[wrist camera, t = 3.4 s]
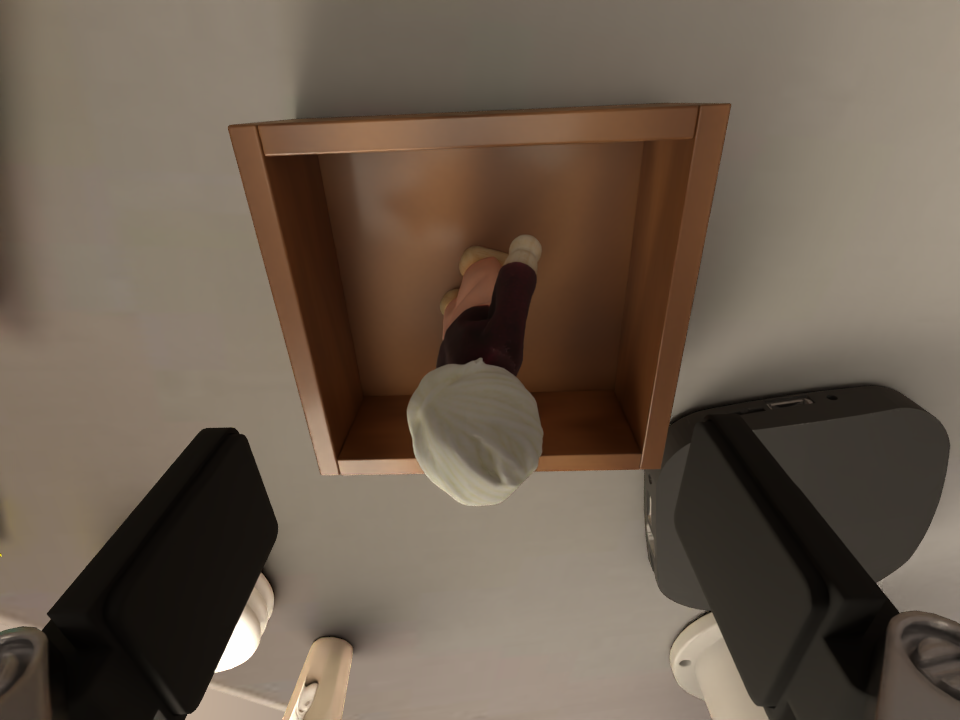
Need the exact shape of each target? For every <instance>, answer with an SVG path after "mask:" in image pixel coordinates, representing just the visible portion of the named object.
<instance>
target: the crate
mask: <svg viewBox="0 0 960 720" xmlns="http://www.w3.org/2000/svg"><path fill="white" fill-rule="evenodd" d="M730 109H731V104H730V103H653V104H630V105H607V106H584V107H561V108H538V109H514V110H491V111H468V112H445V113H422V114H399V115H376V116H353V117H329V118H306V119H290V120H279V121H268V122H257V123H246V124H234V125H229V126H228V130H229V134H230V138H231V142H232V145H233V149H234V153H235V157H236V160H237V164H238V168H239V172H240V175H241V179H242V183H243V186H244V190H245V194H246V198H247V201H248V205H249V209H250V213H251V216H252V220H253V224H254V227H255V231H256V235H257V239H258V242H259V246H260V250H261V254H262V257H263V261H264V265H265V269H266V272H267V276H268V280H269V283H270V287H271V291H272V295H273V298H274V302H275V306H276V310H277V313H278V317H279V321H280V325H281V328H282V332H283V336H284V339H285V343H286V347H287V351H288V354H289V358H290V362H291V366H292V369H293V373H294V377H295V380H296V384H297V388H298V392H299V395H300V399H301V403H302V407H303V410H304V414H305V418H306V422H307V425H308V429H309V433H310V436H311V440H312V444H313V448H314V451H315V455H316V459H317V463H318V466H319V470H320V474H321V475H340V474H341V475H381V474H425V472H424V471H423V470H422V468H421V467H420V465H419V463H418V461H417V459H416V457H415V454H414V450H413V439H412V436H411V433H410V430H409V426H408V420H407V407H408V404H409V401H410V399H411V397H412V395H413V393H414V392H415V390H416V389H417V388H418V386H419V384H420V382H421V380H422V379H423V377H424V376H425V375H426V374H428V373H429V372H431V371H433V370H435V369H436V364H437V358H438V354H439V349H440V346H441V343H442V341H443V339H442V336H443V319H444V315H443V314H442V312H441V310H440V302H441V300H442V298H443V296H444V295H445V294H446V293H447V292H448V291H450V290H453V289H460V286H461V283H462V279H463V276H462V275H461V273H460V270H459V262H460V259H461V257H462V255H463V253H464V251H465V250H466V249H468V248H470V247H472V246H481V247H486V248H489V249H493V250H497V251H501V252H504V253H507V254H509V248H510V245H511V243H512V241H513V240H514V239H515V238H517V237H518V236H520V235H531V236H533V237H535V238H536V239H537V240H538V241H539V243H540V244H541V247H542V253H541V257H540V259H539V261H538V262H537V265H538V268H537V274H536V275H537V283H536V288H535V291H534V293H533V295H532V299H531V303H530V307H529V311H528V316H527V320H526V328H525V336H524V349H523V361H522V365H521V367H520V369H519V372H518V374H517V376H516V377H517V378H518V379H519V380H520V382H521V383H522V384H523V385H524V387H525V388H526V389H527V390H528V391H529V392H530V393H531V395H532V396H533V397H534V398H535V400H536V403H537V408H538V413H539V418H540V423H541V427H542V429H543V432H544V433H543V438H542V440H543V443H542V454H541V456H540V457H539V462H538V467H537V469H536V470H535V471H586V470H637V469H661V464H662V459H663V454H664V449H665V443H666V438H667V433H668V428H669V423H670V418H671V413H672V407H673V402H674V397H675V392H676V387H677V382H678V376H679V371H680V366H681V361H682V356H683V351H684V346H685V340H686V335H687V330H688V325H689V320H690V315H691V309H692V304H693V299H694V294H695V289H696V284H697V279H698V273H699V268H700V263H701V258H702V253H703V248H704V243H705V237H706V232H707V227H708V222H709V217H710V212H711V206H712V201H713V196H714V191H715V186H716V181H717V176H718V170H719V165H720V160H721V155H722V150H723V145H724V140H725V134H726V129H727V124H728V119H729V114H730ZM535 471H534V472H535Z"/></svg>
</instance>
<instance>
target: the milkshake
mask: <svg viewBox="0 0 960 720" xmlns="http://www.w3.org/2000/svg"><path fill="white" fill-rule="evenodd" d="M352 656H353V647H352V646H351V645H350V644H349V643H348V642H347V641H346V640H343V639H339V638H336V637H322V638H320V639H318V640H317V641H315V642H314V643H313V644H312V646H311V648H310V651H309V653H308V656H307V658H306V661H305V663H304V666H303V668H302V671H301V673H300V676H299V679H298V681H297V684H296V686H295V689H294V691H293V694H292V696H291V699H290V701H289V704H288V706H287V709H286V711H285V714H284V717H283V719H282V720H342V714H343V708H344V702H345V697H346V691H347V685H348V679H349V674H350V668H351V662H352Z"/></svg>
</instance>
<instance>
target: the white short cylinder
mask: <svg viewBox="0 0 960 720" xmlns="http://www.w3.org/2000/svg"><path fill="white" fill-rule="evenodd" d="M273 607H274V594H273V590H272V588H271V586H270V584H269V582H268V581H267V579H266V578H265V576H264V575H263V574H262V573H260V575H259V578H258V580H257V582H256V584H255V586H254V588H253V591H252V593H251V595H250V597H249V599H248V601H247V603H246V606H245V608H244V610H243V612H242V614H241V616H240V619H239V621H238V623H237V625H236V627H235V629H234V631H233V634H232V636H231V638H230V640H229V642H228V644H227V646H226V649H225V651H224V653H223V655H222V657H221V659H220V662H219V664H218V666H217V668H216V670H215V672H220V671H224V670H227V669H231V668H233V667H235V666H237V665H239V664H242V663H243V662H245V661H246V660H247V659H249V658H250V657H251V656H252V654H253V653H254V652H255V650H256V649H257V647H258V645H259V642H260V636H261V635H262V634H263V632H264V631H265V629H266V626H267V621H268V619H269V618H270V616H271V614H272V612H273Z"/></svg>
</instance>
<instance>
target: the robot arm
mask: <svg viewBox="0 0 960 720" xmlns="http://www.w3.org/2000/svg"><path fill="white" fill-rule="evenodd" d="M674 525H675V529H676V532H677V534H678V536H679V539H680V541H681V543H682V546H683V548H684V550H685V552H686V555H687V557H688V559H689V561H690V564H691V566H692V568H693V570H694V573H695V575H696V577H697V579H698V582H699V584H700V586H701V588H702V591H703V593H704V595H705V598H706V600H707V602H708V604H709V607H710V609H711V611H712V612H710V613H708V614H706V615H704V616H702V617H701V618H699V619H698V620H696V621H695V622H693V623H692V624H690V625H689V626H688V627H687V628H686V629H685V630H684V631H683V632H681V633H680V635H679V636H678V638H677V639H676V640H675V642H674V643H673V646H672V648H671V651H670V664H671V668H672V671H673V675H674V677H675V679H676V681H677V683H678V685H679V686H680V687H682V688H683V689H684V690H685V691H686V692H688V693H689V694H691V695H693V696H694V697H696V698H699V699H701V700H704V701H705V702H706V705H707V708H708V710H709V713H710V716H711V719H712V720H960V624H959V623H957V622H955V621H953V620H950V619H947V618H945V617H942V616H939V615H936V614H933V613H927V612H921V611H908V612H901V613H899V611H898V610H897V609H896V608H895V606H894V605H893V604H892V603H891V601H890V600H889V599H888V598H887V596H886V595H885V594H884V593H883V591H882V590H881V589H880V588H879V586H878V585H877V584H876V583H875V582H874V580H873V579H872V578H871V577H870V575H869V574H868V573H867V572H866V570H865V569H864V568H863V567H862V565H861V564H860V563H859V562H858V560H857V559H856V558H855V557H854V555H853V554H852V553H851V552H850V550H849V549H848V548H847V547H846V545H845V544H844V543H843V542H842V540H841V539H840V538H839V537H838V535H837V534H836V533H835V532H834V530H833V529H832V528H831V527H830V526H829V524H828V523H827V522H826V521H825V519H824V518H823V517H822V516H821V514H820V513H819V512H818V511H817V509H816V508H815V507H814V506H813V504H812V503H811V502H810V501H809V499H808V498H807V497H806V496H805V494H804V493H803V492H802V491H801V489H800V488H799V487H798V486H797V485H796V484H795V483H794V482H793V481H792V479H791V478H790V477H789V476H788V474H787V473H786V472H785V471H784V469H783V468H782V467H781V466H780V464H779V463H778V462H777V461H776V459H775V458H774V457H773V456H772V454H771V453H770V452H769V451H768V449H767V448H766V447H765V446H764V444H763V443H762V442H761V441H760V439H759V438H758V437H757V436H756V434H755V433H754V432H753V431H752V429H751V428H750V427H749V426H748V424H747V423H746V422H745V421H744V419H743V418H742V417H741V416H740V415H738V414H708V415H706V416H705V417H704V419H703V421H702V422H697V423H696V424H695V427H694V431H693V435H692V439H691V443H690V448H689V452H688V456H687V460H686V465H685V469H684V473H683V477H682V482H681V486H680V490H679V494H678V499H677V503H676V507H675V511H674ZM277 534H278V524H277V520H276V517H275V515H274V512H273V509H272V506H271V503H270V501H269V498H268V495H267V492H266V490H265V487H264V484H263V481H262V479H261V476H260V473H259V470H258V468H257V465H256V462H255V459H254V456H253V454H252V451H251V448H250V445H249V443H248V440H247V438H246V436H245V435H243V434H239V432H238V431H237V430H236V429H235V428H206V429H203V430H201V431H200V432H199V433H198V434H197V435H196V437H195V438H194V439H193V440H192V441H191V443H190V444H189V445H188V446H187V447H186V449H185V450H184V451H183V452H182V453H181V455H180V456H179V457H178V458H177V459H176V461H175V462H174V463H173V464H172V465H171V466H170V468H169V469H168V470H167V471H166V472H165V474H164V475H163V476H162V477H161V478H160V480H159V481H158V482H157V483H156V484H155V486H154V487H153V488H152V489H151V490H150V491H149V493H148V494H147V495H146V496H145V497H144V499H143V500H142V501H141V502H140V503H139V505H138V506H137V507H136V508H135V509H134V511H133V512H132V513H131V514H130V515H129V516H128V518H127V519H126V520H125V521H124V522H123V524H122V525H121V526H120V527H119V528H118V530H117V531H116V532H115V533H114V534H113V536H112V537H111V538H110V539H109V540H108V541H107V543H106V544H105V545H104V546H103V547H102V549H101V550H100V551H99V552H98V553H97V555H96V556H95V557H94V558H93V559H92V561H91V562H90V563H89V564H88V565H87V566H86V568H85V569H84V570H83V571H82V572H81V574H80V575H79V576H78V577H77V578H76V580H75V581H74V582H73V583H72V584H71V586H70V587H69V588H68V589H67V590H66V591H65V593H64V594H63V595H62V596H61V597H60V599H59V600H58V601H57V602H56V603H55V605H54V606H53V607H52V608H51V609H50V611H49V612H48V613H47V615H48V616H49V617H50V618H51V620H50V621H49V622H48V624H47V625H46V626H45V627H44V629H43V630H42V631H41V630H39V629H37V628H36V627H24V626H22V627H17V628H12V629H8V630H4V631H2V632H0V720H185V718H186V716H187V714H191V713H192V712H194V711H195V710H196V708H197V707H198V706H199V704H200V702H201V700H202V698H203V696H204V694H205V692H206V690H207V687H208V685H209V683H210V681H211V679H212V677H213V674H214V672H215V670H216V668H217V666H218V664H219V662H220V659H221V657H222V655H223V653H224V651H225V649H226V646H227V644H228V642H229V640H230V638H231V636H232V634H233V631H234V629H235V627H236V625H237V623H238V621H239V619H240V616H241V614H242V612H243V610H244V608H245V606H246V603H247V601H248V599H249V597H250V595H251V593H252V591H253V588H254V586H255V584H256V582H257V580H258V578H259V575H260V573H261V571H262V569H263V567H264V565H265V563H266V560H267V558H268V556H269V554H270V552H271V550H272V547H273V545H274V543H275V541H276V538H277Z"/></svg>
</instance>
